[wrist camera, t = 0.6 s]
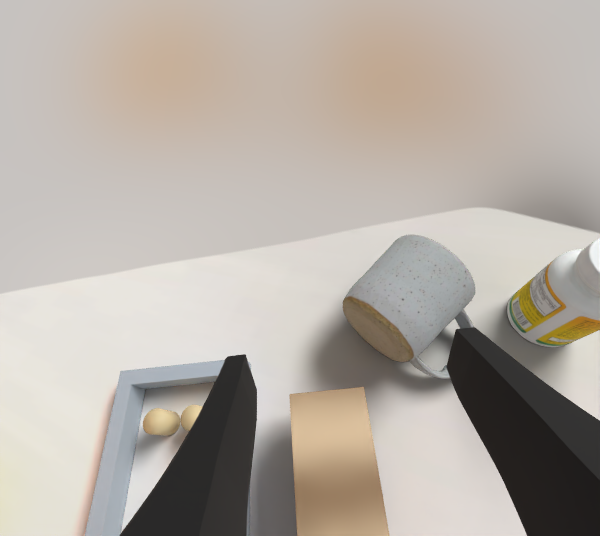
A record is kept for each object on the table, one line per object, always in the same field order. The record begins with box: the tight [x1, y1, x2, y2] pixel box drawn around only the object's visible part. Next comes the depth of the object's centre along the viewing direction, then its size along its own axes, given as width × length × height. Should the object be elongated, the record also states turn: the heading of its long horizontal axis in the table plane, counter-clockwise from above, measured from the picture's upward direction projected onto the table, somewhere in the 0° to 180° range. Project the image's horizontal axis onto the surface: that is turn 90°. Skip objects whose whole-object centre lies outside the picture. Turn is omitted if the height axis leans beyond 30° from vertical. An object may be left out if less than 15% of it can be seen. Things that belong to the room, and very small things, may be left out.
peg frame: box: [85, 360, 251, 536], centre depth 22 cm, size 17×11×2 cm, turn 4°
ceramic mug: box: [343, 235, 475, 379], centre depth 24 cm, size 11×8×8 cm
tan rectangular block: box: [290, 387, 389, 536], centre depth 19 cm, size 12×5×3 cm, turn 4°
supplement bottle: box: [507, 238, 600, 347], centre depth 23 cm, size 5×5×10 cm
